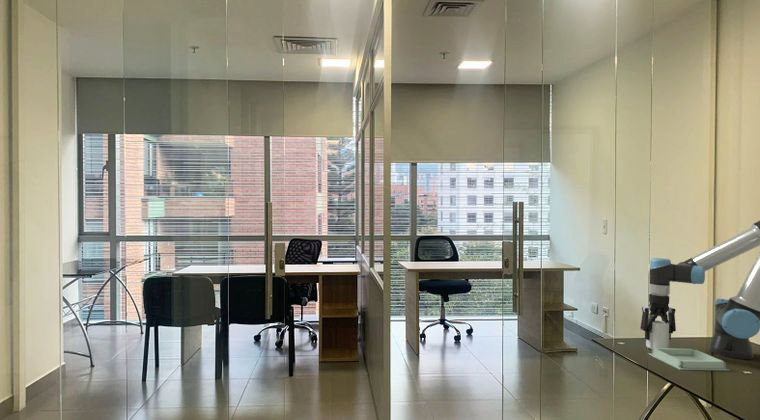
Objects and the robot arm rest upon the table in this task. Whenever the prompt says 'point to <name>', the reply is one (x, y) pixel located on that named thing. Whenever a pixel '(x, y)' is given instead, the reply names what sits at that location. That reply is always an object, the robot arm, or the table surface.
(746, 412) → the table surface
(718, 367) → the tray
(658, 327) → the mug
